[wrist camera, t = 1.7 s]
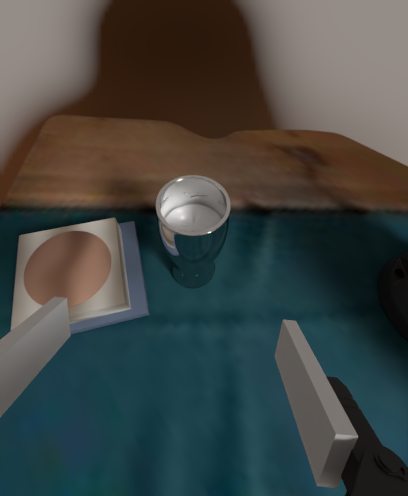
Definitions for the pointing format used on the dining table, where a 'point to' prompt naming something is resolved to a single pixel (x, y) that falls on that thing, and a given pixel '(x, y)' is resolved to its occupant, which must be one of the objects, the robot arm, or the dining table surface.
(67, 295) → the plinth
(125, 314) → the grey flat slab
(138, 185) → the dining table surface
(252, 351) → the dining table surface
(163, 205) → the silver metal cup
